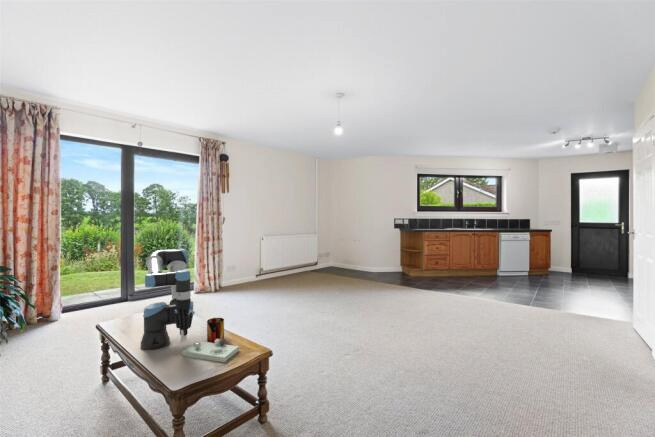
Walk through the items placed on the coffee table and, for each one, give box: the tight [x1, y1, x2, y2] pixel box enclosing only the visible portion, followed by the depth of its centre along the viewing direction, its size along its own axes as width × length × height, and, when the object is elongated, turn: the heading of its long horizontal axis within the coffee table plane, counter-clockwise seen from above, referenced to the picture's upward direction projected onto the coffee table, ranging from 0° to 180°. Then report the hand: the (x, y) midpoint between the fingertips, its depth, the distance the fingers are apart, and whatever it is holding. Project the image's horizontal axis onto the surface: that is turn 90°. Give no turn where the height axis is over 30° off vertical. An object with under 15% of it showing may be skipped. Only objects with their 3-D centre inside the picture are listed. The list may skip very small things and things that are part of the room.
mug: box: [206, 317, 225, 343], centre depth 195 cm, size 10×14×12 cm
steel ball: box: [194, 342, 201, 349], centre depth 178 cm, size 3×3×3 cm
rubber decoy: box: [220, 339, 227, 346], centre depth 183 cm, size 3×3×3 cm
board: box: [181, 340, 240, 363], centre depth 179 cm, size 26×14×2 cm, turn 74°
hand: (183, 340), depth 180 cm, fingers closed
